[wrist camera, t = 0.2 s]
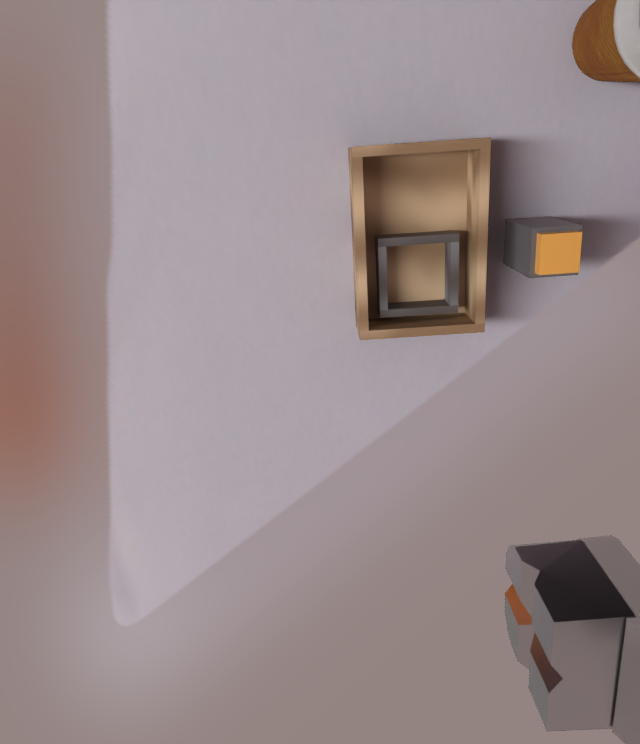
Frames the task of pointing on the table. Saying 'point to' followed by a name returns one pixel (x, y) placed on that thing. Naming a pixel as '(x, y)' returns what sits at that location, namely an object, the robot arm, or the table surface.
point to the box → (420, 237)
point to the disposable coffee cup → (609, 41)
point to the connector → (542, 246)
